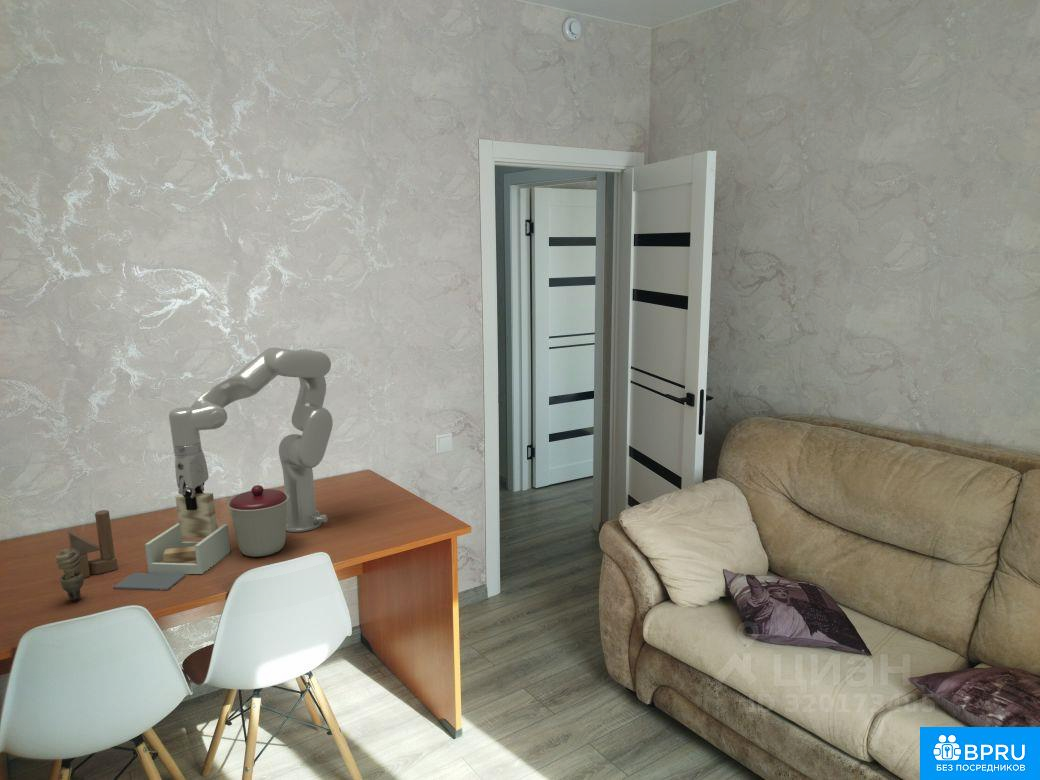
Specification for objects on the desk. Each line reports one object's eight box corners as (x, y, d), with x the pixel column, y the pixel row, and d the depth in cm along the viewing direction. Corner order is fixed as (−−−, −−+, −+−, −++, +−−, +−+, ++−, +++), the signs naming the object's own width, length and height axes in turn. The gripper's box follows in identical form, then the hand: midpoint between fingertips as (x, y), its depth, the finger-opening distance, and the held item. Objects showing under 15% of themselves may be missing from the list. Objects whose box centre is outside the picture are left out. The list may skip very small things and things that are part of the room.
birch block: (218, 533, 225) (212, 493, 222) (212, 537, 221) (206, 497, 218) (187, 532, 226) (181, 493, 223) (181, 537, 222) (175, 497, 220)
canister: (287, 535, 239) (282, 473, 235) (298, 554, 223) (292, 489, 220) (228, 546, 231) (222, 482, 227) (235, 567, 215) (228, 499, 211)
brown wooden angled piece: (74, 576, 212) (65, 517, 208) (115, 565, 218) (108, 508, 215) (76, 580, 209) (67, 520, 205) (118, 569, 215) (110, 511, 212)
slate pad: (185, 576, 210) (185, 574, 210) (167, 590, 201) (167, 588, 201) (133, 574, 212) (133, 572, 212) (113, 588, 203) (113, 586, 203)
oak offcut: (203, 554, 219) (202, 544, 218) (201, 559, 215) (200, 550, 214) (166, 558, 216) (165, 549, 216) (164, 564, 212) (163, 554, 212)
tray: (230, 551, 227) (227, 524, 225) (201, 575, 211) (198, 545, 209) (180, 550, 229) (177, 523, 227) (148, 573, 212) (144, 544, 211)
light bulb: (80, 605, 194) (72, 552, 191) (58, 606, 193) (50, 553, 190) (90, 595, 199) (82, 543, 196) (69, 596, 199) (61, 544, 196)
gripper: (184, 457, 209) (192, 517, 213) (214, 441, 225) (221, 497, 229) (159, 457, 210) (168, 517, 214) (191, 441, 226) (198, 497, 230)
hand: (195, 506), depth 222 cm, fingers closed on birch block, 3 cm apart
